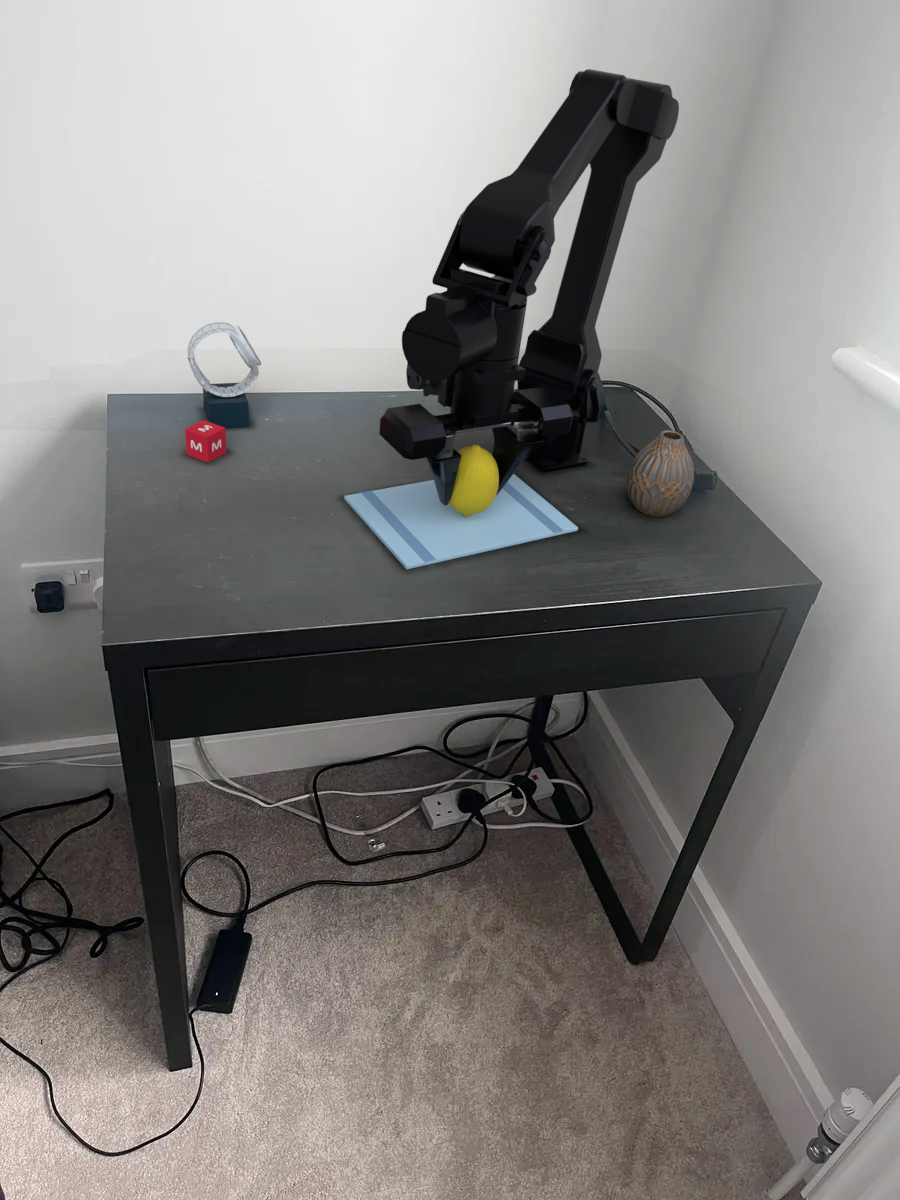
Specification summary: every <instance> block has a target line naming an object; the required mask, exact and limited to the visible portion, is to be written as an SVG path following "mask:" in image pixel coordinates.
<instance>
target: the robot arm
mask: <svg viewBox="0 0 900 1200" xmlns="http://www.w3.org/2000/svg"><path fill="white" fill-rule="evenodd" d="M679 112H680V103H679V101H678V100H677V99H676V98H675V97H674V96H673V91H672V87H671V86H670V85H669V84H665V83H664V84H663V83H658V82H652V81H647V80H642V79H635V78H630V77H627V76H626V75H625V74H620V73H613V72H607V71H602V70H597V69H591V68H587V69H585V70H584V71H582V70H581V71H578V72H576V73H575V75H574V77H573V78H572V80H571V83H570V86H569V91H568V95H567V96H566V98H565V99H564V100H563V102H562V103H561V104H560V106H559V108H558V109H557V111H556V112H555V113H554V115H553V116H552V118H551V119H550V120H549V122H548V123H547V125H546V126H545V128H544V129H543V130H542V132H541V133H540V135H539V136H538V138H537V139H536V140H535V142H534V143H533V145H532V146H531V148H530V149H529V151H528V152H527V153H526V155H525V156H524V157H523V159H522V160H521V161H520V163H519V164H518V166H517V167H516V169H515V170H514V171H513V172H512V173H511V174H510V175H507V176H504V177H502V178H500V179H497V180H495V181H493V182H489V183H488V184H487V185H486V186H485V187H484V188H483V189H482V190H481V191H480V192H479V193H478V194H477V195H476V196H474V198H473V199H472V200H471V201H470V202H469V203H468V204H467V206H466V207H465V208H464V211H463V212H462V213H461V214H460V215H459V217H458V219H457V221H456V224H455V226H454V229H453V231H452V232H451V235H450V237H449V240H448V242H447V245H446V247H445V249H444V251H443V254H442V256H441V258H440V260H439V263H438V265H437V268H436V270H435V271H434V275H433V277H432V285H434V286H439V287H442V288H444V289H446V290H445V291H443V292H434V293H431V294H428V295H427V296H426V297H425V298H426V299H425V309H424V310H422V311H421V310H420V311H419V312H416V313H415V314H414V315H413V316H411V317H410V319H409V320H408V321H407V323H406V325H405V327H404V330H403V331H402V334H401V347H402V352H403V356H404V358H405V360H406V362H407V364H406V370H405V373H406V375H405V376H406V384H407V387H408V388H409V389H410V390H417V391H421V390H422V395H423V397H430V396H437V403H438V404H440V406H442V407H443V408H445V407H448V408H449V409H450V410H449V413H444V414H437V415H434V414H433V413H432V412H430V411H429V410H428V409H427V408H425V407H424V406H423V405H422V404H421V403H415V404H408V405H402V406H395V407H393V406H392V407H388V408H386V410H385V411H384V412H383V413H382V414H381V417H380V419H379V430H378V431H379V432H378V434H379V436H380V437H381V438H382V439H384V441H386V442H387V443H388V445H389V446H391V448H393V449H394V450H395V451H396V452H397V453H398V454H399V455H400V456H401V457H402V458H403V459H406V460H410V461H414V460H421V459H426V460H427V462H428V464H429V468H430V471H431V474H432V480H434V482H435V486H436V489H437V493H438V497H439V500H440V502H441V503H442V504H443V505H444V506H446V505H448V504H449V501H450V499H451V496H452V493H453V489H454V485H455V481H456V477H457V472H458V468H459V464H460V460H461V456H462V455H461V454H460V453H459V452H458V450H457V449H456V448H454V447H455V446H454V445H455V438H456V435H458V434H459V435H461V434H466V433H473V432H478V431H479V432H480V431H486V430H491V429H492V434H493V439H494V440H493V449H492V454H491V455H492V456H493V457H494V459H495V461H496V463H497V466H498V473H499V486H498V491H497V494H496V495H498V493H499V492H500V491H501V490H502V488H503V487H504V486H505V484H506V483H507V482H508V480H509V479H510V478H511V476H512V475H513V474H515V473H516V472H517V470H518V469H519V467H520V466H521V465H522V464H523V463H524V462H525V460H527V461H528V462H530V463H531V464H532V465H534V466H535V467H536V468H537V469H539V470H540V471H541V472H545V473H547V472H552V471H558V470H564V469H567V468H573V467H580V466H585V465H587V464H588V458H586V457H585V456H584V455H582V454H581V450H582V446H583V440H584V436H585V431H586V426H587V423H597V422H599V420H600V415H601V412H602V410H603V408H604V405H605V400H606V397H607V394H606V391H605V387H604V385H603V382H602V379H601V376H600V373H599V369H600V365H601V360H602V349H601V345H600V342H599V338H598V334H597V329H596V325H597V321H598V318H599V313H600V310H601V306H602V303H603V301H604V296H605V293H606V289H607V286H608V283H609V279H610V276H611V272H612V269H613V265H614V262H615V258H616V255H617V251H618V248H619V246H620V242H621V238H622V234H623V231H624V227H625V224H626V220H627V218H628V215H629V210H630V207H631V203H632V200H633V197H634V193H635V190H636V186H637V184H638V183H639V182H640V181H641V179H643V178H644V177H645V175H647V173H649V171H650V170H651V169H652V168H654V166H655V165H656V164H657V163H658V162H659V161H660V159H661V158H662V155H663V152H664V150H665V146H666V144H667V141H668V140H670V138H671V137H672V136H673V133H674V132H675V128H676V126H677V122H678V118H679ZM588 167H590V173H589V178H588V180H587V181H588V182H587V185H586V189H585V192H584V197H583V200H582V203H581V206H580V211H579V215H578V218H577V222H576V226H575V229H574V233H573V237H572V239H571V244H570V247H569V251H568V255H567V259H566V263H565V266H564V269H563V273H562V278H561V281H560V285H559V289H558V292H557V296H556V299H555V302H554V307H553V311H552V312H551V313H552V314H551V316H550V318H548V319H547V321H546V322H545V323H543V324H542V326H541V327H540V328H538V329H533V330H532V331H531V332H530V334H529V335H528V336H527V339H526V345H525V350H524V353H523V355H522V356H521V358H520V351H521V343H522V338H523V332H524V324H525V317H526V311H527V303H528V297H530V296H533V295H535V294H536V293H537V285H536V282H537V280H538V279H539V276H540V274H541V273H542V271H543V269H544V267H545V266H546V263H547V262H548V260H549V259H550V256H551V254H552V247H553V245H554V243H555V242H556V234H555V233H556V232H555V217H556V215H557V214H558V212H559V210H560V208H561V207H562V204H564V202H565V201H566V199H567V197H568V196H569V195H570V193H571V192H572V190H573V188H574V187H575V186H576V184H577V182H578V181H579V179H580V178H581V176H582V175H583V173H584V172H585V171H586V169H587V168H588ZM462 265H464V266H466V268H468V269H472V270H476V271H479V272H483V273H487V274H491V275H493V276H487V275H484V274H481V273H480V274H479V273H477V272H473V271H470V270H467V269H463V268H461V266H462ZM519 358H520V361H519ZM515 383H517V390H515Z"/></svg>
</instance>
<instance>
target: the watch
mask: <svg viewBox="0 0 900 1200" xmlns="http://www.w3.org/2000/svg"><path fill="white" fill-rule="evenodd" d="M222 333H224V334H228V336H229V338H230V340H231V342H232V344H233V346H234V347H235V349H236V350H237V353H238V354H239V356H240V357H241V359H242V360H243V362H244V363H245V365H246V366H247V367H248V368H249V369H250V371H249V372H248V374H247V375H246V377H245V378H243V379H242V380H241V381H240V382H225V383H224V382H223V383H221V382H219V383H211V381H210V379H208V378H207V377H206V376H205V375H204V373H203V372H202V371H201V369H200V367H199V365H198V364H197V361H196V355H195V354H194V352H195V350H196V348H197V346H199V344H200V342H201V341H202V340H204V339H206V338H207V337H208V336H211V335H214V334H222ZM187 361H188V363H189V366H190V369H191V372H192V374H193V376H194V378H195V379H196V381H197V383H198V384H199V385H200V386H201V388H202V395H203V396H202V397H203V399H202V400H203V410H204V413H205V417H206V419H207V421H208V422H211V423H213V424H216V425H219V426H222V427H224V428H225V429H240V428H242V429H243V428H250V418H249V417H250V413H249V410H250V409H249V400H248V398H247V395H246V393H245V392H247V391H249V390H250V389H251V388H252V386H253V385H254V384H255V383H256V380H257V379H258V377H259V375H260V370H259V366H261V365H262V361H261V360H260V357H259V355H258V354H257V352H256V350H255V349H254V347H253V345H252V343H251V342H250V341H249V339H248V337H247V336H246V334H245V333H244V331H243V330H242V328H241V327H240V326H239V325H236V326H234V325H232V324H230V323H229V322H219V321H218V322H212V323H208V324H205V325H204V326H202V327H200V328H199V329H198V330H196V331H195V332H194V334H193V335H192V336H191V338H190V340H189V342H188V346H187Z"/></svg>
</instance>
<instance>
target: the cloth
mask: <svg viewBox="0 0 900 1200" xmlns="http://www.w3.org/2000/svg"><path fill="white" fill-rule="evenodd" d="M343 499H344V501H346V503H347V504H348V505H349V506H350V508H352V510H353V511H354V512H355V513H356V515H358V517H360V519H361V520H362V521H363V522H364V523H365V524H366V526H368V527H369V529H370V530H371V531H372V532H373V533H374V534H375V535H376V537H377V538H378V539H379V540H380V541H381V542H382V544H383V545H385V547H386V548H387V549H388V550H389V551H390V552H391V553H392V555H393V556H394V558H396V559H397V560H398V562H400V564H401V565H402V566H403V567H404V568H405V569H406V570H410V569H414V568H420V567H424V566H428V565H432V564H437V563H441V562H446V561H450V560H454V559H460V558H464V557H468V556H472V555H476V554H482V553H485V552H490V551H494V550H499V549H503V548H507V547H512V546H517V545H520V544H525V543H531V542H533V541H534V542H535V541H538V540H543V539H546V538H552V537H555V536H560V535H565V534H569V533H574V532H578V530H579V526H577V525H576V524H575V523H573V522H572V521H571V520H570V519H568V518H567V517H566V516H565V515H564V514H562V513H561V512H560V511H559V510H558V509H557V508H555V507H554V506H553V505H552V504H551V503H549V502H548V501H547V500H546V499H545V498H543V497H542V496H541V495H540V494H539V493H538V492H536V491H535V490H534V489H533V488H532V487H530V486H529V485H528V484H527V483H526V482H524V481H523V480H522V479H521V478H520V477H518V476H517V475H516V474H515V473H514V474H513V475H512V476H511V478H510V479H509V480H508V482H507V483H506V484H505V486H504V487H503V488H502V490H501V491H500V492H499V493H498V495H496V496H495V498H494V500H493V502H492V504H491V505H490V506H489V507H488V508H487V509H485V510H484V511H482V512H480V513H478V514H472V515H471V516H469V517H465V516H464V515H463V514H462V513H460V512H458V511H456V510H455V509H453V508H452V507H451V506H450V504H448V505H446V506H444V505H443V504H442V503H441V502H440V500H439V497H438V493H437V489H436V486H435V482H434V479H430V480H425V481H418V482H414V483H409V484H408V483H407V484H403V485H397V486H391V487H386V488H380V489H374V490H366V491H365V490H364V491H360V492H358V493H353V494H346V495H344V497H343Z"/></svg>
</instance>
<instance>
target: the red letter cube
mask: <svg viewBox="0 0 900 1200" xmlns="http://www.w3.org/2000/svg"><path fill="white" fill-rule="evenodd" d="M226 433H227V432H226V428H224V427H222V426H219V425H216V424H213V423H211V422H208V420H205V419H202V420H201V421H198V422H196V423H194V424H192V425H190V426H188V427H186V428H184V434H185V435H184V437H185V438H184V439H185V451H186V453H185V454H186V455H188V456H190V457H193V458H195V459H197V460H200V461H202V462H206V463H211V462H212V461H214V460H216V459H218V458H219V457H221V456H223V455H225V454H227V438H226V436H227V435H226Z"/></svg>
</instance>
